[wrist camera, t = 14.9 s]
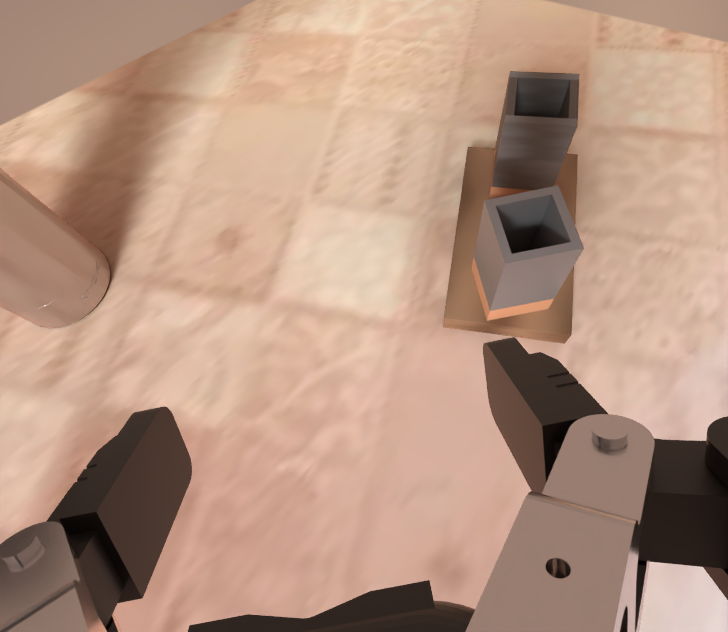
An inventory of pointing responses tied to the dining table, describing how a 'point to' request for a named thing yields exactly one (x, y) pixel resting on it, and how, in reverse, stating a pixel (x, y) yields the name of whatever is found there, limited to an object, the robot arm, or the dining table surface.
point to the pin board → (512, 176)
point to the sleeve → (524, 252)
